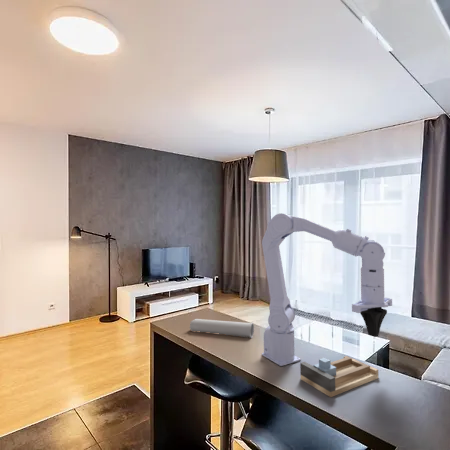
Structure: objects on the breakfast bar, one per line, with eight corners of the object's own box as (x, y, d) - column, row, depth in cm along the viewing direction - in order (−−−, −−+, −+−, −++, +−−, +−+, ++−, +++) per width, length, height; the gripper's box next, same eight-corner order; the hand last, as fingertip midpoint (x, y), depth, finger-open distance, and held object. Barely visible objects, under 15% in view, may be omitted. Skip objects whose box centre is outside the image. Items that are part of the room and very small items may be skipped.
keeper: (313, 377, 78) (313, 358, 78) (324, 373, 80) (324, 355, 80) (325, 384, 74) (324, 364, 74) (336, 380, 76) (336, 360, 76)
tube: (186, 323, 116) (249, 328, 108) (192, 315, 121) (253, 319, 113) (188, 335, 117) (251, 341, 109) (194, 326, 122) (254, 332, 114)
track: (300, 379, 79) (300, 363, 80) (346, 363, 88) (346, 349, 88) (330, 397, 71) (330, 379, 71) (378, 378, 80) (378, 362, 80)
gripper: (368, 290, 75) (369, 345, 75) (402, 284, 82) (403, 334, 82) (344, 286, 81) (345, 336, 81) (378, 281, 88) (379, 327, 88)
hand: (373, 335), depth 82 cm, fingers closed
